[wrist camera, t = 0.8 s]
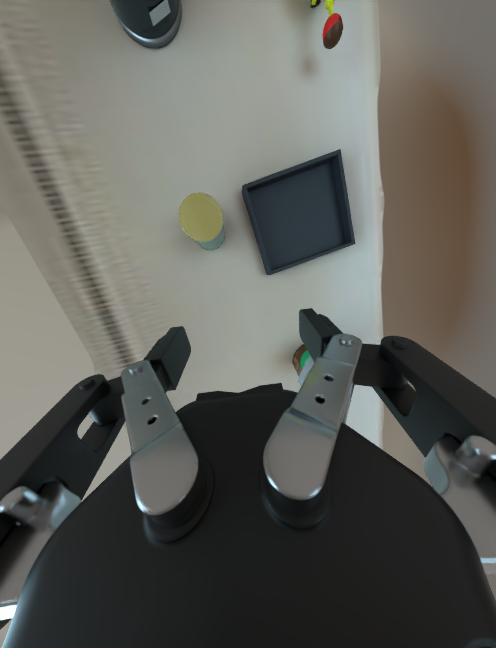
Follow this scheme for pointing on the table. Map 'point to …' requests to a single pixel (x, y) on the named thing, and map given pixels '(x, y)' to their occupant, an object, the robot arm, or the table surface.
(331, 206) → the dark grey shallow tray
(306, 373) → the food container
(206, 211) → the green cup
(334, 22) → the toy figure
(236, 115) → the table surface
